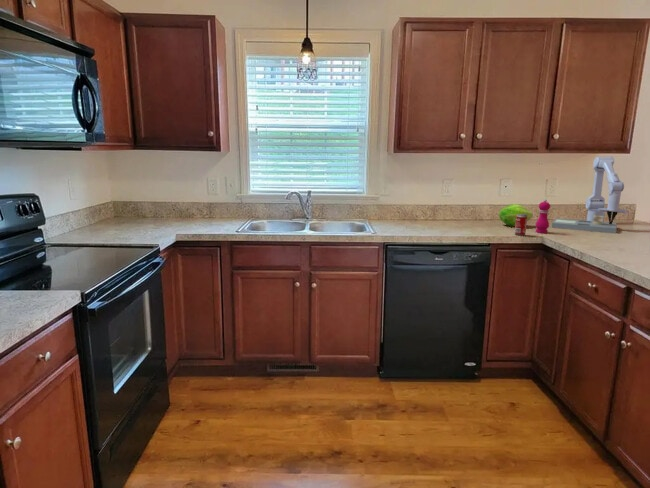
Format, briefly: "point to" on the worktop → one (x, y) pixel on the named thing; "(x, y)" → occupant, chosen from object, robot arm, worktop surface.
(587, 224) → the trap deck
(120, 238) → the worktop surface
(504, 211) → the lettuce
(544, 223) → the pepper mill
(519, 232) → the beverage can
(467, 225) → the worktop surface
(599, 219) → the maple cube
